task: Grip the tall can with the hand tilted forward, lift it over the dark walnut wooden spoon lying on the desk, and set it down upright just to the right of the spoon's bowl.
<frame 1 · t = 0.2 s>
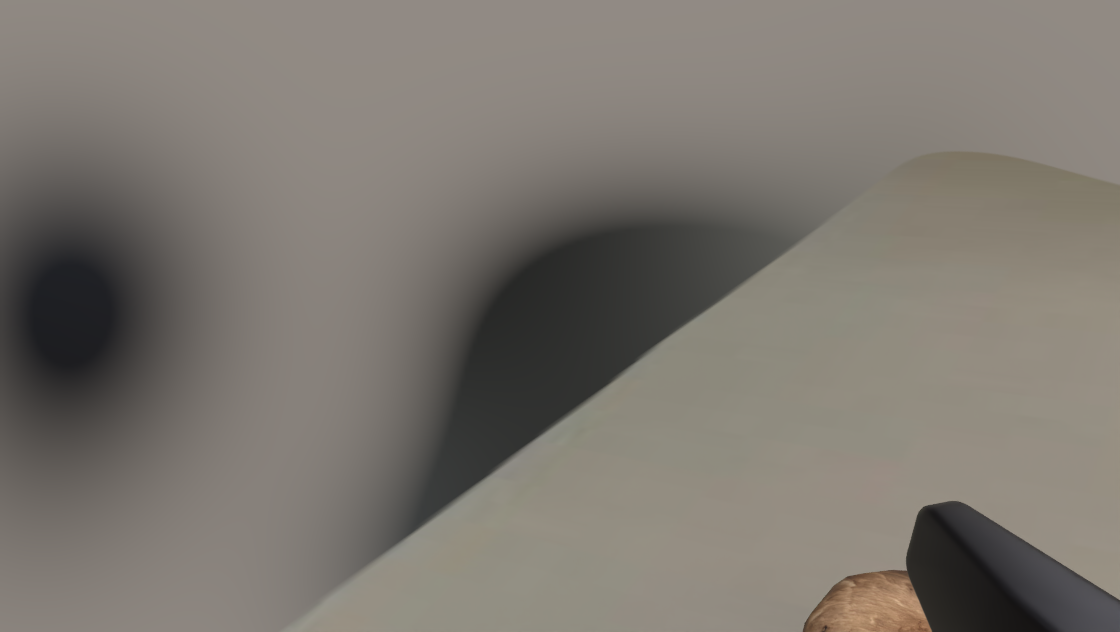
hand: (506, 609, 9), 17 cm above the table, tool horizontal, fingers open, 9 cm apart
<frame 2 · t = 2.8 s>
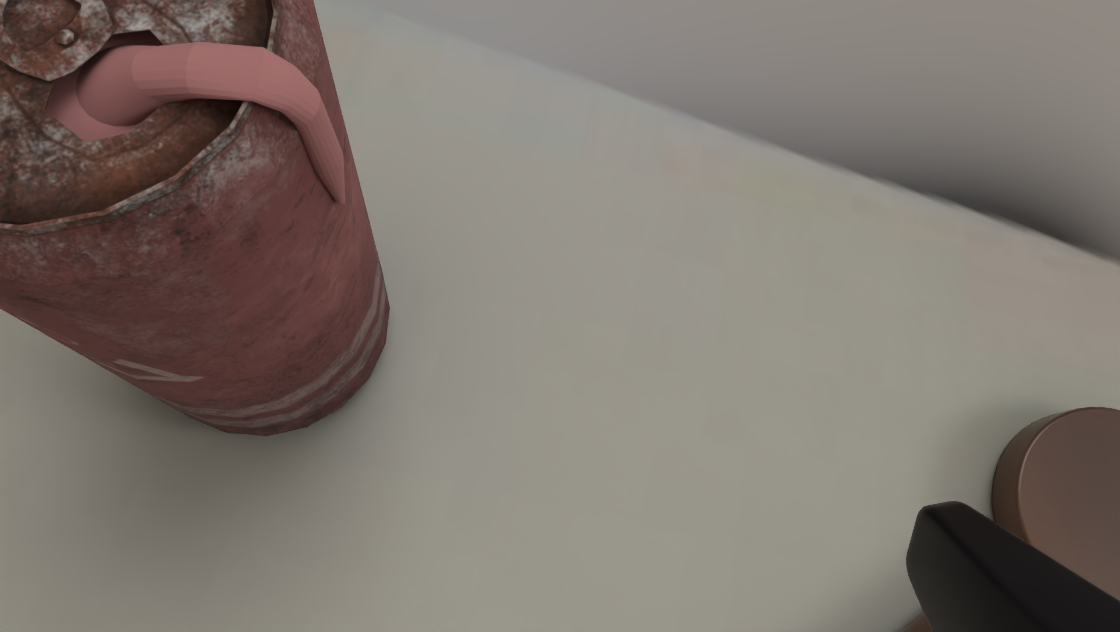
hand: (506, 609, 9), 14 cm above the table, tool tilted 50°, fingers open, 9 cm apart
can: (277, 322, 24), on the table
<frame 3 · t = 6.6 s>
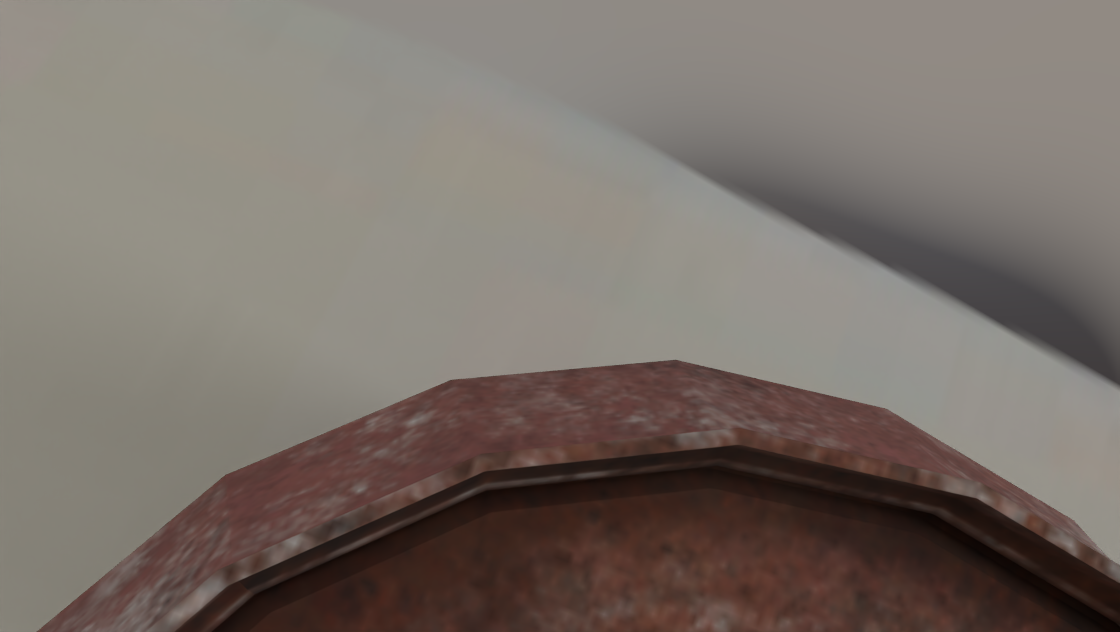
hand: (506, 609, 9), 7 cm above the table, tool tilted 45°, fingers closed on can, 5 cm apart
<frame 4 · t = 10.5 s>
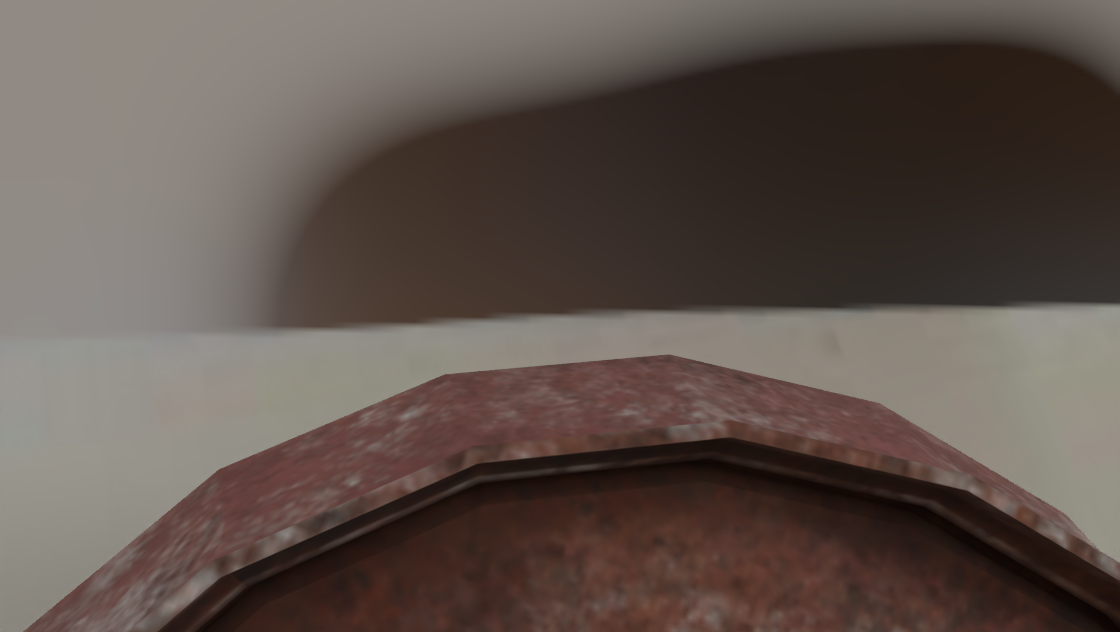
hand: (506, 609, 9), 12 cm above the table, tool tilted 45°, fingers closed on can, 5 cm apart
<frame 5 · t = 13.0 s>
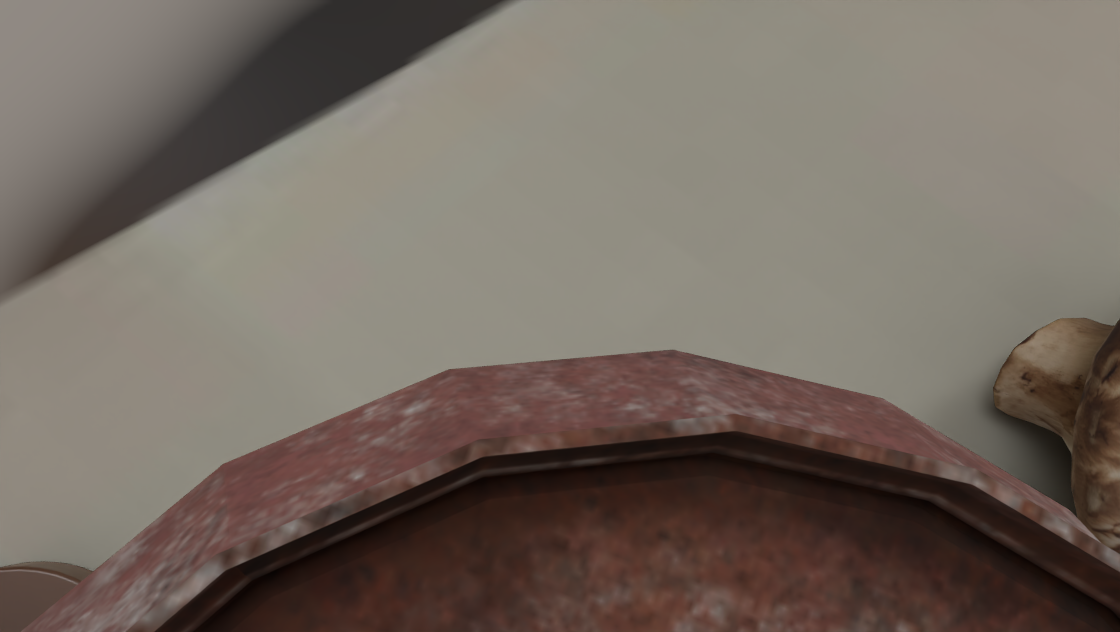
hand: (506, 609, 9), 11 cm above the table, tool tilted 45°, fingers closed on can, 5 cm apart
mushroom: (1102, 432, 23), on the table
when the fingers open (7 cm above the table, at t = 14.6 s): can stays where it is, on the table.
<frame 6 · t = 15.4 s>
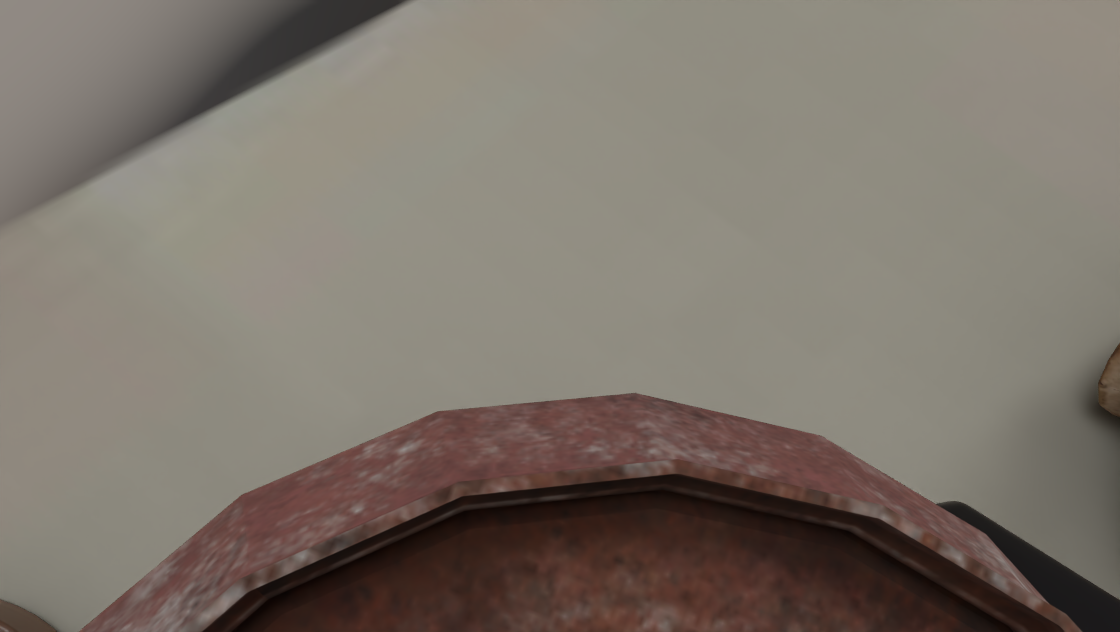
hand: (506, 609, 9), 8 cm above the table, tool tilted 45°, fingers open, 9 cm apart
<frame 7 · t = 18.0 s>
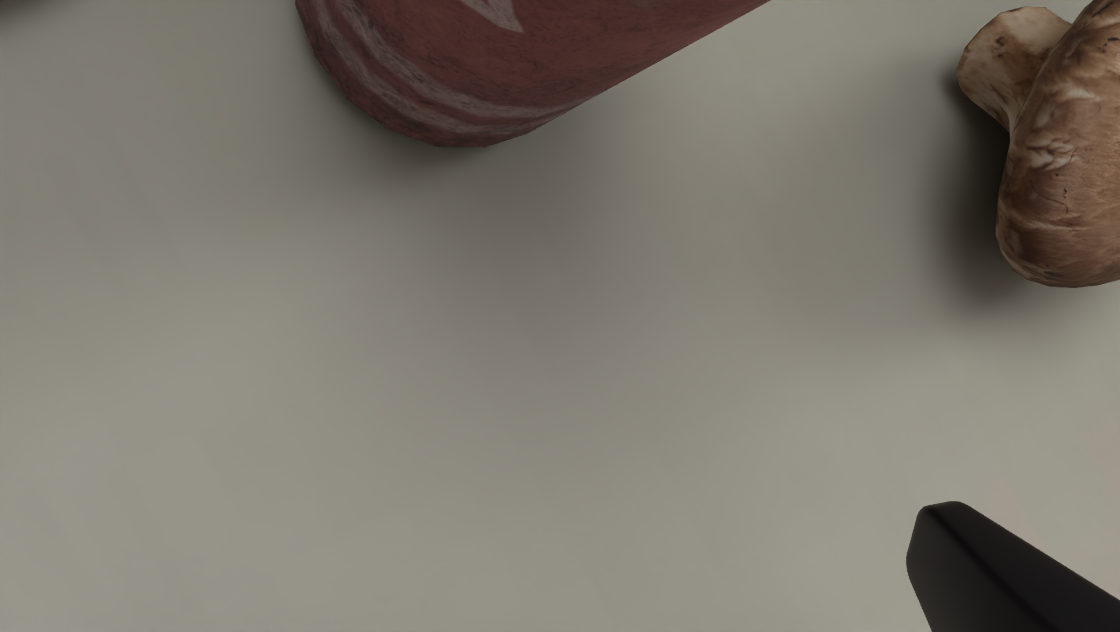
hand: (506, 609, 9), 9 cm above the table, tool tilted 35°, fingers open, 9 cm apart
mushroom: (1016, 150, 25), on the table
can: (449, 9, 19), on the table
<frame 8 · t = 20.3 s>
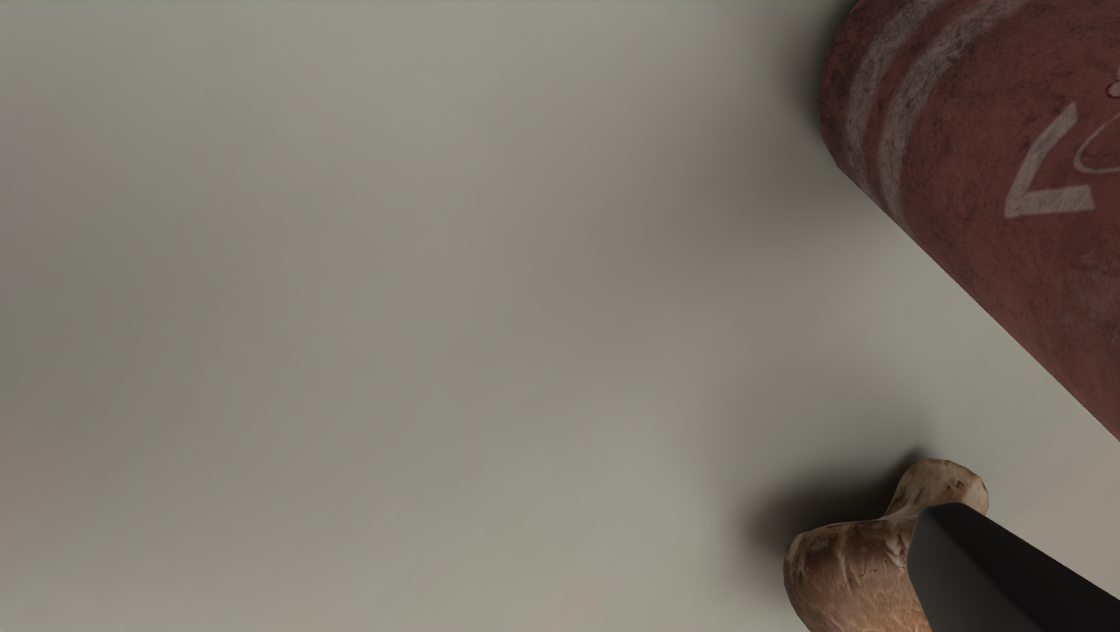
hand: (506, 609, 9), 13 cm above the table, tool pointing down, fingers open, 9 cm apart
mushroom: (867, 515, 31), on the table
can: (923, 67, 22), on the table
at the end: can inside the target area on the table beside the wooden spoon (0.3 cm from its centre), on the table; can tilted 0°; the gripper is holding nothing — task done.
